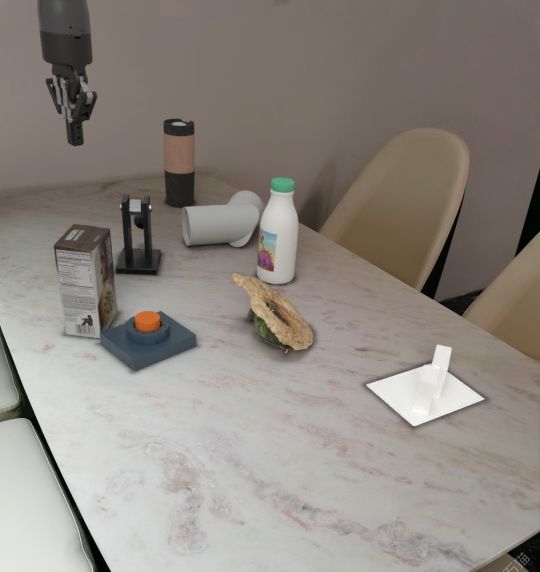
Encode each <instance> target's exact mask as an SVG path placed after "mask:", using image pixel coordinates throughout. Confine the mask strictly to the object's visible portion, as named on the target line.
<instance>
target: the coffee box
mask: <svg viewBox="0 0 540 572" xmlns="http://www.w3.org/2000/svg"><path fill="white" fill-rule="evenodd" d="M53 253H54V260H55V267H56V274H57V280H58V287H59V293H60V303H61V308H62V309H61V310H62V317H63V323H64V324H63V325H64V330H65V335H68V336H76V337H85V338H94V339H100V332H102V331H105V330H108V329H109V327H110V325H111V324H112V322H113V320H114V319H115V317H116V316H117V314H118V303H117V290H116V289H117V288H116V280H115V279H116V278H115V267H114V258H113V257H114V256H113V245H112V234H111V228H110V227H99V226H96V225H89V224H79V223H73V224H72V225H71V226H70V227H69V228H68V229H67V230H66V231H65V232H64V233H63V235H62V236H60V238H59V239H58V240H57V241H56V242H54V244H53Z"/></svg>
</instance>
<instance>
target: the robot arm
mask: <svg viewBox="0 0 540 572" xmlns="http://www.w3.org/2000/svg"><path fill="white" fill-rule="evenodd" d="M36 13H37V23H38V29H39V31H38V32H39V40H40V47H41V57H42V60H43V61H44V62H45V63H47V64H50V65H51V74H52V76H51V77H50V78H48V77H46V78H45V84H46V87H47V89H48V92H49V94H50V97H51V100H52V102H53V105H54V107H55V110H56V113H57V114H58V115H62V119H63V121H64V122H65V129H66V131H65V132H66V140H67V143H68V144H69V145H70V146H73V147H80V146H83V145H84V144H85V141H84V128H83V123H84V122H85V121H90V120H91V117H92V114H93V110H94V108H95V106H96V102H97V99H98V93H97V92H96V90H94V91H91V90H90V87H89V86H88V84H89V79H88V74H87V70H86V68H87V66H89V65H91V64H92V63H93V60H94V58H93V44H92V30H91V20H90V19H91V18H90V17H91V16H90V10H89V5H88V0H36Z"/></svg>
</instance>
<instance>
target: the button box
mask: <svg viewBox="0 0 540 572" xmlns="http://www.w3.org/2000/svg"><path fill="white" fill-rule="evenodd" d="M155 312H156V311H155ZM156 313H158V314H159V315H160V328H159V329H157V330H154V331H146V332H144V331H140V330H137V329H136V328H135V315H134V316H131V317H130V318H129V319H128V320H126V321H125V323H122V324H120V325H116V326H114V327H111V328H108V329H107V330H105V331H102V332H100V338H99V340H100V344H101V346H103V347H104V348H105V349H107V350H108V351H109V352H110V353H112V355H114V356H115V357H117V359H119V360H120V361H121V362H123V363H124V364H125V365H126V366H127V367H128V368H130V369H131V370H132V371H133V372H136V371H139V370H141V369H143V368H145V367H149V366H151V365H153V364H155V363H158V362H161V361H163V360H165V359H168V358H171V357H172V356H175V355H177V354H180V353H182V352H185V351H187V350H189V349H191V348H194V347H196V346H197V334H196V333H195V332H193V331H191V330H190V329H188V328H187V327H185V326H184V325H183V324H181V323H180V322H179V321H176V319H173V317H171V316H170V315H168V314H167V313H165V312H163V311H162V310H159V311H157V312H156Z"/></svg>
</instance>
